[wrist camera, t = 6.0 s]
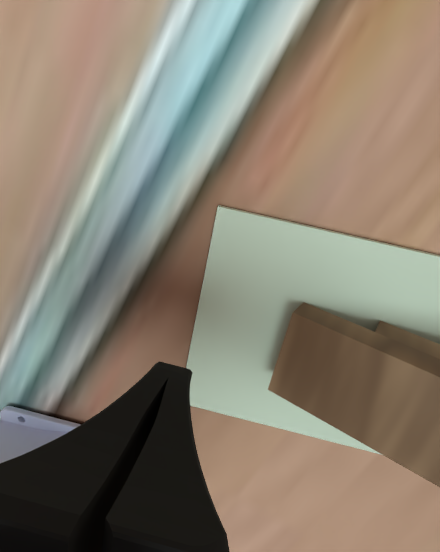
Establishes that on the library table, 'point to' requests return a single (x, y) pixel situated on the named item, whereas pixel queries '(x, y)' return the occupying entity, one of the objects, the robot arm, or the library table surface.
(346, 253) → the mat
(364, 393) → the tile
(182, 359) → the library table surface
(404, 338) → the tile
